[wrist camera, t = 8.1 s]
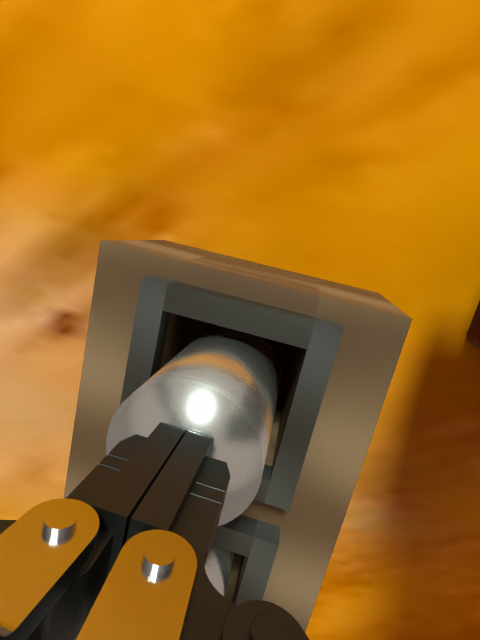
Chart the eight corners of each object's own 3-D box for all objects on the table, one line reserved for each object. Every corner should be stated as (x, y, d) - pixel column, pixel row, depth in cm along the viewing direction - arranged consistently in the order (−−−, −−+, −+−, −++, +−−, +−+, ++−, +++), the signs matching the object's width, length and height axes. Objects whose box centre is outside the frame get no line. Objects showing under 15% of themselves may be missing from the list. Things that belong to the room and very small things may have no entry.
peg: (192, 314, 17) (119, 361, 10) (292, 341, 17) (281, 408, 10) (173, 406, 18) (95, 501, 11) (267, 434, 18) (241, 550, 11)
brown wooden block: (164, 240, 22) (86, 240, 14) (378, 293, 21) (419, 324, 13) (115, 509, 26) (35, 621, 19) (291, 568, 25) (283, 716, 17)
